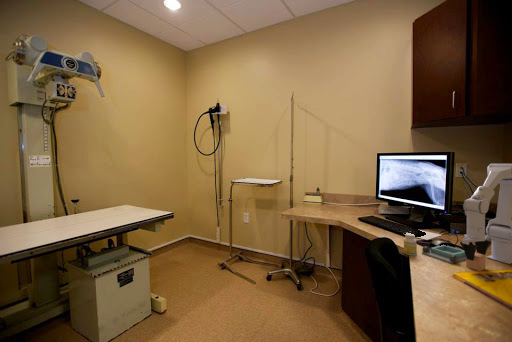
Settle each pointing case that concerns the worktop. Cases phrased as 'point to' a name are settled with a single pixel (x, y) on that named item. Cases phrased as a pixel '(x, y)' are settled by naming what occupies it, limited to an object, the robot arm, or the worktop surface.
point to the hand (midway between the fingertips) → (475, 258)
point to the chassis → (445, 253)
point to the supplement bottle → (410, 244)
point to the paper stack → (429, 235)
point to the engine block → (476, 262)
